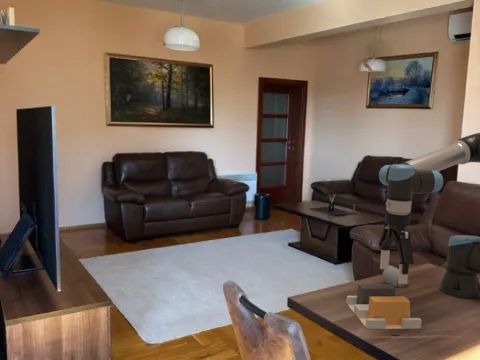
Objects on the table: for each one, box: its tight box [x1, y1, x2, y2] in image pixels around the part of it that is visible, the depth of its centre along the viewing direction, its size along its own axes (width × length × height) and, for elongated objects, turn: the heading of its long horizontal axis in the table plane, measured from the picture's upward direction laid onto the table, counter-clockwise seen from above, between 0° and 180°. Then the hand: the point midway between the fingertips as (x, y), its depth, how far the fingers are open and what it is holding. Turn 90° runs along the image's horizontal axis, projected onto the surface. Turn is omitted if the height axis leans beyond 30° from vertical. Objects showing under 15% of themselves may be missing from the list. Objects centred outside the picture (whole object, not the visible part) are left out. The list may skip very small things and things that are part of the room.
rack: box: [346, 295, 423, 330], centre depth 151 cm, size 18×20×4 cm
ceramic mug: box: [381, 265, 410, 288], centre depth 182 cm, size 11×8×8 cm
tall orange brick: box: [368, 295, 411, 325], centre depth 145 cm, size 12×4×8 cm, turn 96°
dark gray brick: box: [356, 283, 397, 304], centre depth 156 cm, size 12×4×8 cm, turn 96°
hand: (392, 275), depth 144 cm, fingers open, 13 cm apart
